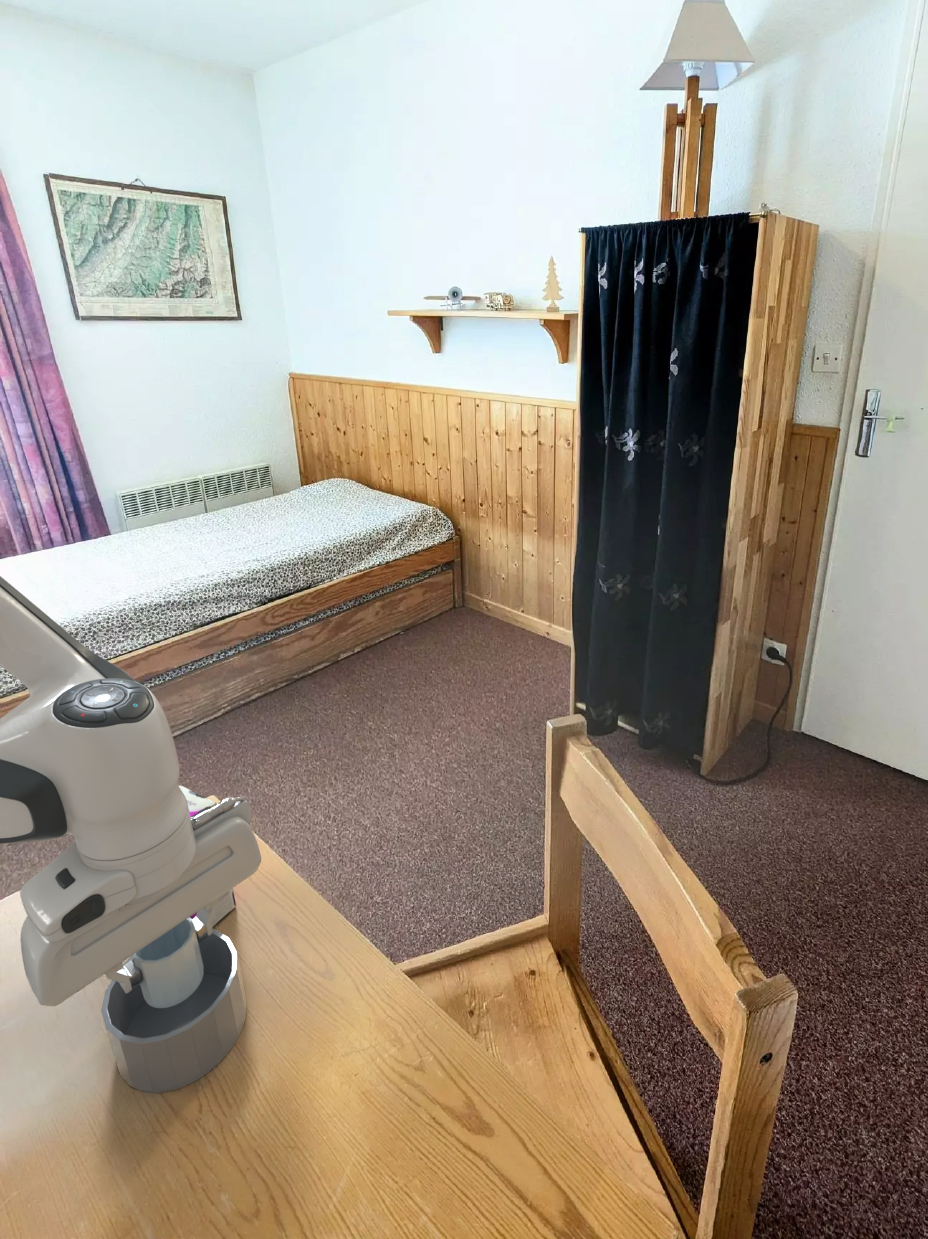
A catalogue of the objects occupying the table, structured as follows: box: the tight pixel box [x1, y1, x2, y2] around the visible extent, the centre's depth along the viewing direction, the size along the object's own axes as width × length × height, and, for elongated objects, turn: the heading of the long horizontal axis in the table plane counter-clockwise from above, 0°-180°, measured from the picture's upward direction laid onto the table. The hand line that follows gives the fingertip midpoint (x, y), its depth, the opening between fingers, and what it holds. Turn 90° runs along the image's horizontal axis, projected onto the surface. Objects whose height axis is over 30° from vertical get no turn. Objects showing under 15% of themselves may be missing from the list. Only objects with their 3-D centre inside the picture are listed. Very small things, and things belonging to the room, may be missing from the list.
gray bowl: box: [100, 928, 247, 1094], centre depth 68 cm, size 12×12×7 cm
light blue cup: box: [132, 917, 204, 1008], centre depth 66 cm, size 5×6×6 cm
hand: (167, 959), depth 66 cm, fingers closed on light blue cup, 5 cm apart
